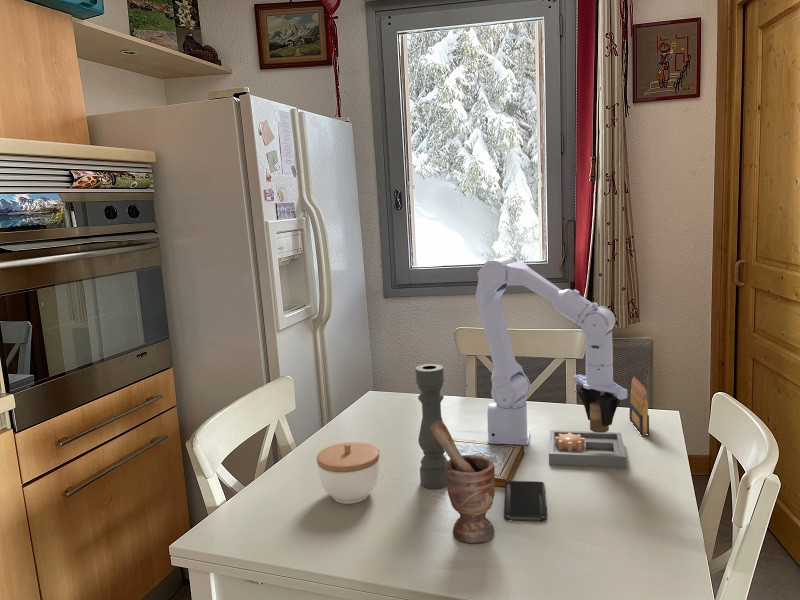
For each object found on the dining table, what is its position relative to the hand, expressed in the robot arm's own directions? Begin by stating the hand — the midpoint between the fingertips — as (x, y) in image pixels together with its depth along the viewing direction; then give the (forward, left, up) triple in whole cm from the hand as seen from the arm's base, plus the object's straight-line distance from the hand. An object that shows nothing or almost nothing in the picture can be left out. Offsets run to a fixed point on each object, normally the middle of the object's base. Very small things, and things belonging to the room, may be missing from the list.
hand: (599, 422), depth 145 cm
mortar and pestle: (-25, -38, -8) cm, 46 cm away
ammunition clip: (+10, +17, -8) cm, 21 cm away
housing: (-3, 0, -8) cm, 8 cm away
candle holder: (-34, -19, -8) cm, 40 cm away
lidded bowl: (-50, -27, -8) cm, 57 cm away
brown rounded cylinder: (0, 0, -2) cm, 2 cm away
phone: (-15, -25, -8) cm, 30 cm away
